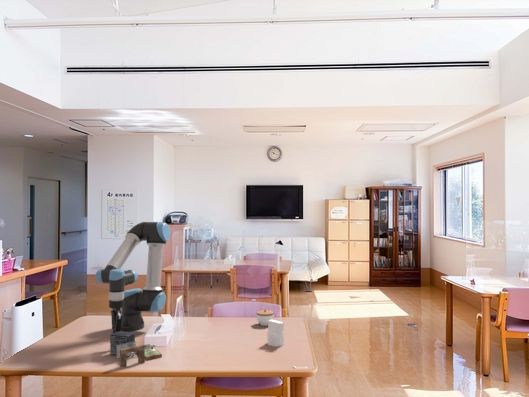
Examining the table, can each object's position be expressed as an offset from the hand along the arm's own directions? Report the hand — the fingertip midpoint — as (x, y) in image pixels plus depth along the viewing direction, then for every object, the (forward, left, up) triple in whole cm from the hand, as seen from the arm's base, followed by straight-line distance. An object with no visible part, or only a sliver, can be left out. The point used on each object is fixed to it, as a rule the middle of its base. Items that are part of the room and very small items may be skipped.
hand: (116, 344), depth 218 cm
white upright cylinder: (-73, +41, -2) cm, 84 cm away
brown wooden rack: (-5, +21, -1) cm, 21 cm away
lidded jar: (-89, +8, -2) cm, 90 cm away
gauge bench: (-5, +17, -2) cm, 18 cm away
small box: (-1, +10, -2) cm, 10 cm away
